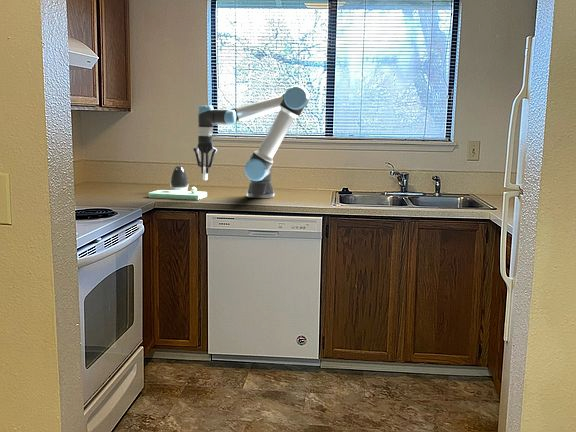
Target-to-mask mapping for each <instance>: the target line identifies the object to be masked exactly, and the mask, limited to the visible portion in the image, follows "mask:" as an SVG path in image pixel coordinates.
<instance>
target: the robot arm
mask: <svg viewBox="0 0 576 432" xmlns="http://www.w3.org/2000/svg"><path fill="white" fill-rule="evenodd" d="M309 101H310V94H309V92H308V89H306V88H304V87H303V86H300V85H292V86H290V87H289V88H287V89H286V90H285V92H283V93H281V94H280V95H279V96H275V97H271V98H267V99H264V100H263V99H262V100H260V101H257V102H253V103H250V104H246V105H242V106H238V107H235V108H231V109H214V107H213V105H199V106H198V113H197V115H198V118H197V119H198V121H197V122H198V129H197V133H198V137H197V142H198V144H197V146H196V147H194V148H193V152H194V153H195V159H196V163H197V167H199V168H201V174H202V180H203V181H207V180H208V175H209V174H210V168H211V167H213V166H214V162H215V161H214V160H215V157H216V153H217V152H218V149H217V148H215V147H214V144H213V143H214V141H213V139H214V137H213V134H214V133H213V132H214V129H213V128H214V125H227V126H233V125H235V124H236V123H239V122H242V121H246V120H250V119H253V118H258V117H262V116H266V115H269V114H272V113H276V112H278V113H277V115H276V116H275V119H274V121H272V122H273V123H272V124H271V126H270V127H269V130H268V131H267V133H266V135H265V137H264V139H263V141H262V142H261V144H260V146H259V148H258V149H257V150H254V151H253V153H252V154H251V155H250V157H249V160H247V161H246V163H245V165H244V175H245V176H246V177H247V178H248V179H249V185H248V188H247V191H246V197H247V198H251V199H270V198H274V197H275V191H274V188H273V183H272V166H273V163H274V160H273V158H274V156H275V154H276V152H277V151H278V149H279V147H280V146H281V144H282V143H283V140H284V139H285V137H286V135H287V132H288V131H289V129H290V127H291V126H292V124H293V122H294V121H295V119H296V118H299V117H300V116H301V114H302V112H303V110H304V108H305V107H307V105H308V104H309ZM210 154H211V155H210ZM210 156H211V157H210Z"/></svg>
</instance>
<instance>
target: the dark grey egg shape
mask: <svg viewBox="0 0 576 432" xmlns="http://www.w3.org/2000/svg"><path fill="white" fill-rule="evenodd" d="M189 185H190V184H189V180H188V175H187V172H186V170H185V168H184V167H183V166H182V165H177V166H175V167H174V169H173V172H172V174H171V177H170V184H169V186H170V189H171V190H175V191H188V188H189Z"/></svg>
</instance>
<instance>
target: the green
mask: <svg viewBox="0 0 576 432" xmlns="http://www.w3.org/2000/svg"><path fill="white" fill-rule="evenodd" d="M147 196H148V199H149V198H150V199H166V200H167V199H169V200H185V199H186V200H188V201H198V200H199V199H200V200H202V199H203V198H204V199H205V198H206V197H208V192H207V191H197V192H196V193H192V192H191V191H189V190H187V191H175V190H172V189H171V190H170V189H169V190H168V189H158V190H154V191H151V192H148V193H147Z"/></svg>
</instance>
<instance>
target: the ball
mask: <svg viewBox="0 0 576 432" xmlns="http://www.w3.org/2000/svg"><path fill="white" fill-rule="evenodd" d="M189 189H190V191H191V192H192V193H196V192H198V189H197V188H196V187H195V186H192V187H190V188H189Z"/></svg>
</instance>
